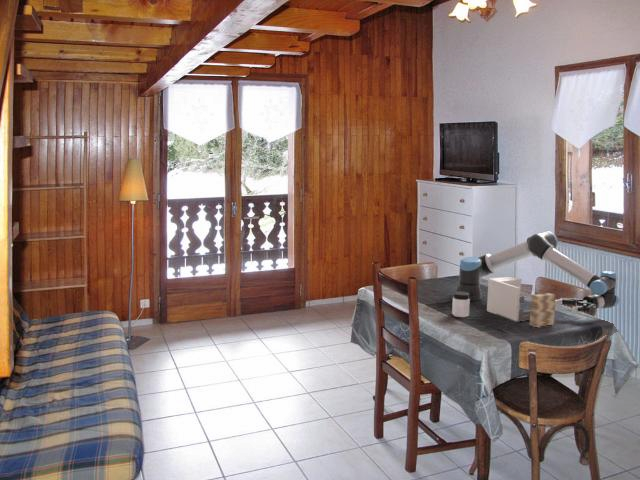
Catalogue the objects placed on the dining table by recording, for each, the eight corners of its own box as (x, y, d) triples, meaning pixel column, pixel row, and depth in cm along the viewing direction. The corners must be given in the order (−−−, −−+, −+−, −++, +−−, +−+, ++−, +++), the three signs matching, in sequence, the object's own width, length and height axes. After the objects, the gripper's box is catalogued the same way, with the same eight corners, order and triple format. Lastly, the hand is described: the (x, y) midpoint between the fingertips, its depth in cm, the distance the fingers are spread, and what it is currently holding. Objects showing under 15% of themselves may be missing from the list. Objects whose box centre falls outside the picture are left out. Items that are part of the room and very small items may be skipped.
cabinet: (509, 308, 354) (511, 276, 351) (539, 319, 333) (541, 285, 330) (486, 310, 348) (488, 278, 345) (515, 322, 326) (517, 288, 324)
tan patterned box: (547, 323, 326) (549, 292, 323) (553, 325, 322) (555, 294, 320) (529, 325, 321) (531, 294, 318) (535, 327, 317) (537, 296, 315)
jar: (450, 316, 336) (451, 294, 335) (453, 312, 344) (454, 290, 342) (467, 318, 333) (468, 295, 331) (470, 314, 340) (471, 292, 339)
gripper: (611, 315, 323) (580, 319, 314) (574, 303, 345) (543, 307, 337) (612, 301, 322) (581, 305, 313) (575, 290, 344) (544, 293, 336)
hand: (561, 306), depth 325 cm, fingers open, 13 cm apart
